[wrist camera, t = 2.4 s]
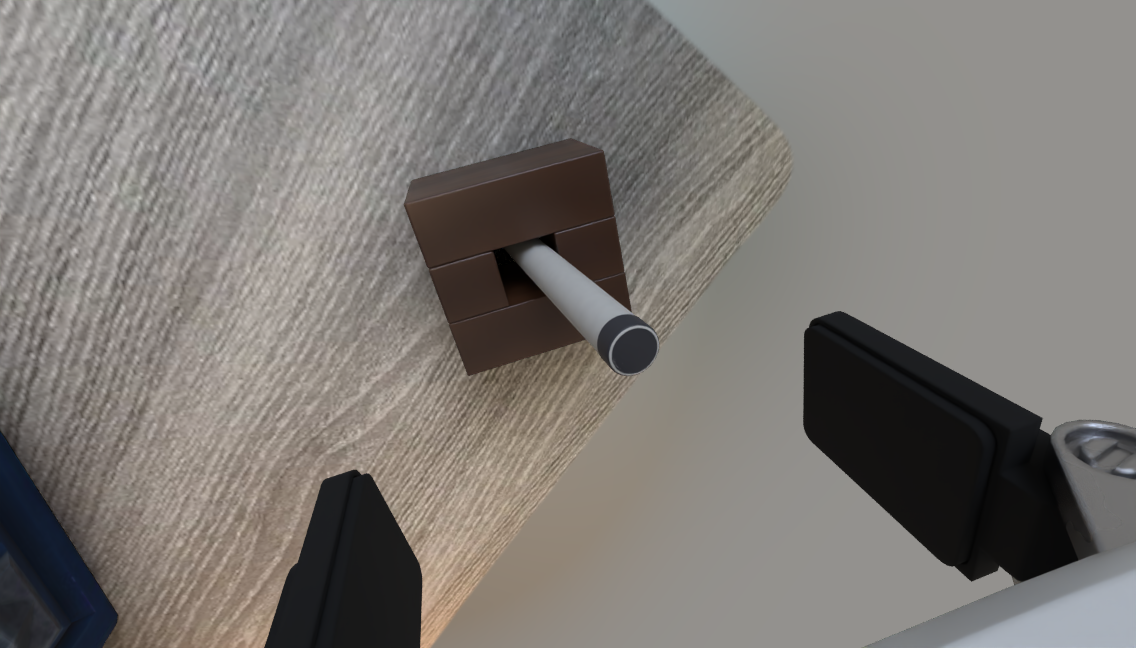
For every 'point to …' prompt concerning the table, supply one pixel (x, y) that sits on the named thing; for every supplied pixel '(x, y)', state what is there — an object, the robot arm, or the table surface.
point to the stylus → (589, 309)
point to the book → (43, 573)
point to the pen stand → (509, 216)
